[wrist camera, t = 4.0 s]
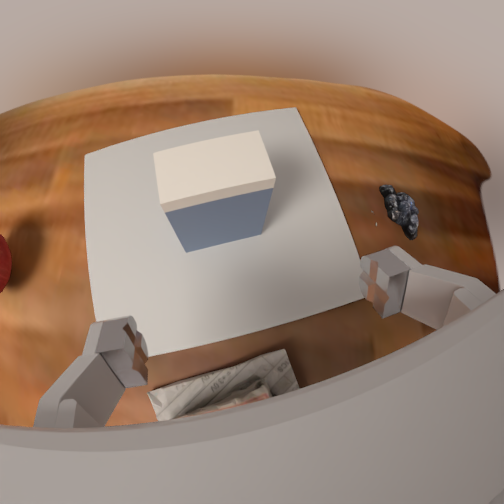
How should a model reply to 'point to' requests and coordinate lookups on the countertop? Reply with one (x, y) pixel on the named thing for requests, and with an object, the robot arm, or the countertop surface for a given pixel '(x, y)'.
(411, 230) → the blueberries
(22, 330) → the countertop surface
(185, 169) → the card box
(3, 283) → the onion
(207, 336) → the rubber mat
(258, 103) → the countertop surface
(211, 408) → the packaged product
